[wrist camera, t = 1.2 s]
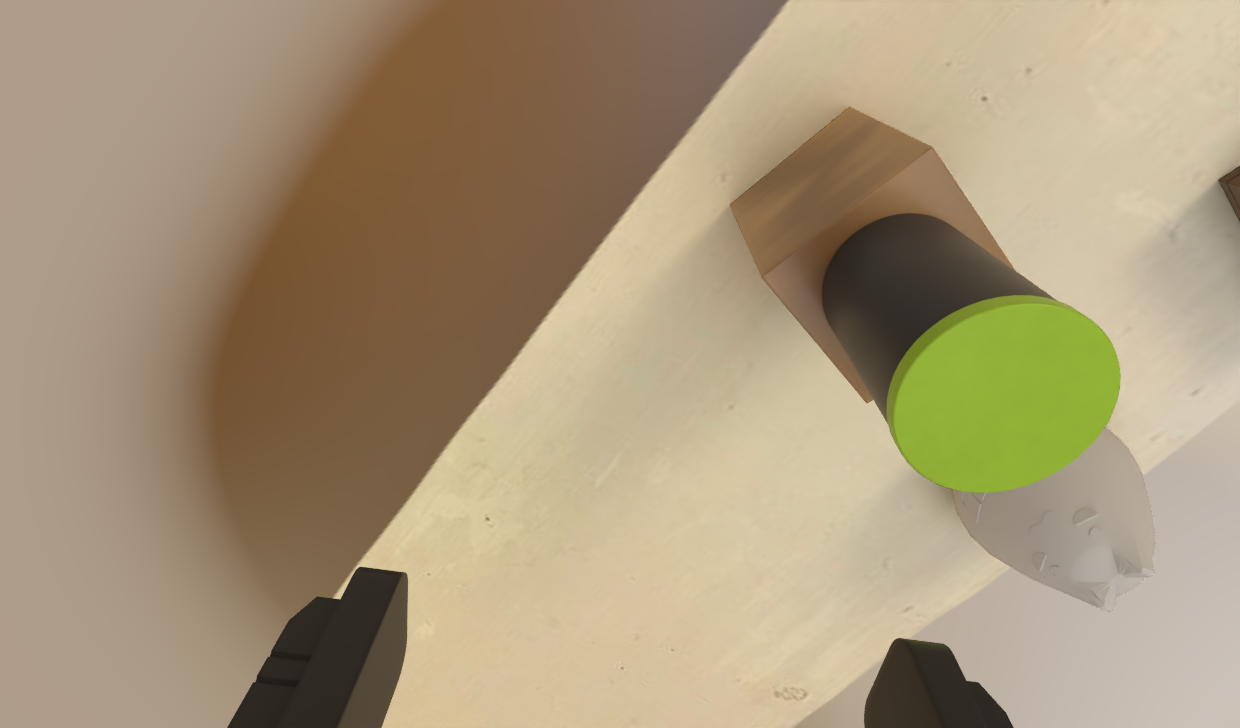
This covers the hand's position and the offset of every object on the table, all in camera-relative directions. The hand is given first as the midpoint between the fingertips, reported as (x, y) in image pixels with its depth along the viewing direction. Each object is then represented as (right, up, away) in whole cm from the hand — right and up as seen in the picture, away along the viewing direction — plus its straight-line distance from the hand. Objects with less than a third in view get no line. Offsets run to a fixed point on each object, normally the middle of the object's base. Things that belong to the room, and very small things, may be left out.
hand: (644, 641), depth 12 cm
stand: (+11, +13, +29) cm, 33 cm away
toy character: (+26, -2, +36) cm, 44 cm away
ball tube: (+11, +8, +18) cm, 22 cm away
